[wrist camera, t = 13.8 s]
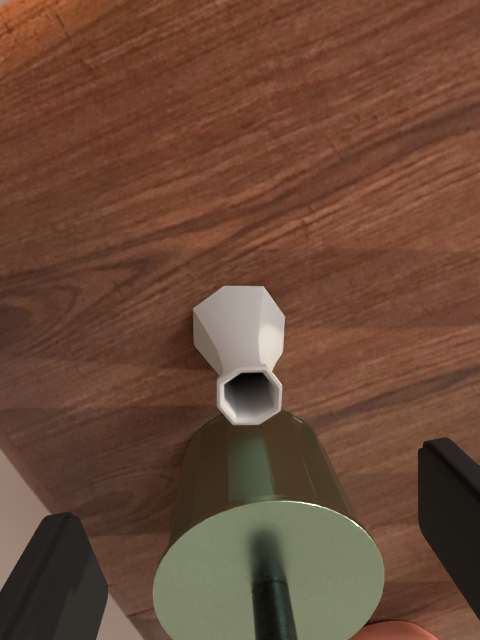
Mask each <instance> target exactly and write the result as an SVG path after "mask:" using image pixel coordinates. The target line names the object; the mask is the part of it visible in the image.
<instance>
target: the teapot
mask: <svg viewBox="0 0 480 640" xmlns="http://www.w3.org/2000/svg"><path fill="white" fill-rule="evenodd" d="M348 640H438V639H437V638H436V637H434V636H433V635H431V634H430V633H429V632H427V631H426V630H424V629H422V628H421V627H419V626H417V625H415V624H413V623H410V622H405V621H385V622H379V623H375V624H371V625H368V626H365V627H362V628H361V629H360V630H359V631H358V632H357V633H356V634H354V635H353V636H352V637H351V638H350V639H348Z"/></svg>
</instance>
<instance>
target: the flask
mask: <svg viewBox="0 0 480 640" xmlns="http://www.w3.org/2000/svg"><path fill="white" fill-rule="evenodd" d="M284 323H285V316H284V314H283V313H282V312H281V310H280V309H279V307H278V306H277V305H276V303H275V302H274V300H273V299H272V297H271V296H270V295H269V293H268V292H267V290H266V289H265V288H264V286H223V287H222V288H220V289H219V290H218V291H216V292H215V293H214V294H212V295H211V296H209V297H208V298H207V299H205V300H204V301H203V302H201V303H200V304H198V305H197V306H196V307H194V308H193V335H194V346H195V347H196V348H197V350H198V351H199V352H200V353H201V354H202V356H203V357H204V358H205V359H206V360H207V362H208V363H209V364H210V365H211V366H212V368H213V369H214V370H215V371H216V372H217V373H218V375H219V376H220V377H219V378H218V379H217V407H218V408H219V410H220V411H221V412H222V413H223V414H224V415H225V417H226V418H227V419H228V420H229V421H230V422H231V423H232V425H259V424H261V423H263V422H264V421H266V420H267V419H269V418H270V417H272V416H273V415H275V414H276V413H278V412H279V411H281V399H282V384H281V383H280V382H279V380H278V379H277V378H276V376H275V375H274V374H273V373H272V370H273V368H274V366H275V364H276V362H277V360H278V359H279V357H280V356H281V354H282V352H283V339H284Z"/></svg>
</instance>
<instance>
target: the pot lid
mask: <svg viewBox="0 0 480 640" xmlns="http://www.w3.org/2000/svg"><path fill="white" fill-rule="evenodd" d="M383 587H384V566H383V560H382V557H381V554H380V552H379V549H378V547H377V545H376V543H375V542H374V540H373V538H372V536H371V534H370V533H369V532H368V531H367V530H366V528H365V527H364V526H363V525H362V524H361V523H360V522H359V521H358V520H356V519H355V518H354V517H353V516H352V515H350V514H348V513H347V512H345V511H344V510H342V509H340V508H338V507H336V506H334V505H332V504H330V503H327V502H324V501H321V500H318V499H314V498H309V497H304V496H298V495H286V494H276V495H261V496H254V497H248V498H244V499H240V500H236V501H233V502H230V503H227V504H224V505H221V506H219V507H217V508H215V509H213V510H210V511H208V512H206V513H205V514H203V515H201V516H200V517H198V518H197V519H195V520H193V521H192V522H191V523H190V524H188V525H187V526H186V527H185V528H183V529H182V530H181V531H180V532H179V533H178V534H177V535H176V536H175V538H174V539H173V540H172V541H171V542H170V544H169V545H168V547H167V548H166V549H165V551H164V553H163V555H162V557H161V559H160V561H159V563H158V566H157V570H156V573H155V578H154V584H153V604H154V608H155V611H156V615H157V617H158V619H159V621H160V623H161V625H162V627H163V628H164V629H165V631H166V632H167V634H168V635H169V636H170V637H171V638H172V639H173V640H348V639H350V638H351V637H352V636H353V635H354V634H356V633H357V632H358V631H359V630H360V629H361V628H362V627H363V626H364V625H365V624H366V622H367V621H368V620H369V618H370V617H371V616H372V614H373V612H374V611H375V609H376V607H377V605H378V603H379V601H380V598H381V595H382V592H383Z"/></svg>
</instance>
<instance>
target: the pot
mask: <svg viewBox="0 0 480 640" xmlns="http://www.w3.org/2000/svg"><path fill="white" fill-rule="evenodd" d="M276 494H286V495H298V496H304V497H309V498H314V499H318V500H321V501H324V502H327V503H330V504H332V505H334V506H336V507H338V508H340V509H342V510H344V511H345V512H347V513H348V514H350V515H352V516H353V517H354V518H355V519H356V520H357V518H356V516H355V514H354V511H353V509H352V507H351V505H350V503H349V500H348V498H347V496H346V494H345V492H344V490H343V487H342V485H341V483H340V481H339V479H338V476H337V474H336V472H335V470H334V468H333V465H332V463H331V461H330V459H329V457H328V455H327V452H326V450H325V448H324V447H323V445H322V444H321V442H320V440H319V438H318V437H317V435H316V434H315V432H314V431H313V430H312V428H311V427H309V426H308V425H307V424H306V423H305V422H304V421H302V420H301V419H300V418H298V417H296V416H295V415H293V414H291V413H288V412H286V411H283V410H281V411H279V412H278V413H276V414H275V415H273V416H272V417H270V418H269V419H267V420H266V421H264V422H263V423H261V424H259V425H232V423H231V422H230V421H229V420H228V419H227V418H226V417H225V415H224V414H221V415H220V416H218V417H216V418H214V419H212V420H211V421H209V422H208V423H207V424H205V425H204V426H203V427H202V428H201V429H200V430H199V431H198V432H197V433H196V434H195V435H194V437H193V438H192V440H191V441H190V443H189V445H188V447H187V449H186V450H185V454H184V458H183V463H182V468H181V473H180V478H179V484H178V490H177V496H176V502H175V508H174V514H173V520H172V526H171V532H170V538H169V544H170V542H171V541H172V540H173V539H174V538H175V536H176V535H177V534H178V533H179V532H180V531H181V530H182V529H183V528H185V527H186V526H187V525H188V524H190V523H191V522H192V521H193V520H195V519H197V518H198V517H200V516H201V515H203V514H205V513H206V512H208V511H210V510H213V509H215V508H217V507H219V506H221V505H224V504H227V503H230V502H233V501H236V500H240V499H244V498H248V497H254V496H261V495H276ZM169 544H168V545H169Z"/></svg>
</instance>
